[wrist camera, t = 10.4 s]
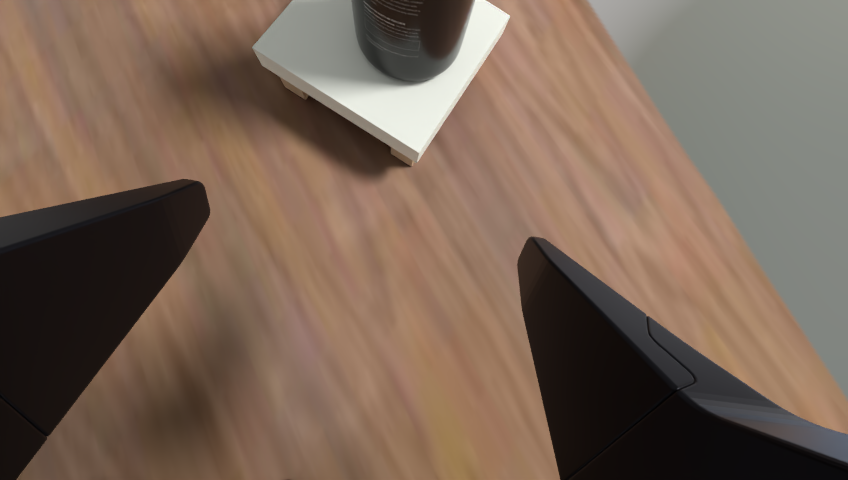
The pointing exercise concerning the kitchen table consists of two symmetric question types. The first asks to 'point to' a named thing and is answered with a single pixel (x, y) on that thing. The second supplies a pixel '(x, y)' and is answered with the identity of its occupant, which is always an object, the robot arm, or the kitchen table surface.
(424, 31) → the supplement bottle
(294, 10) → the white square riser
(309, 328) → the kitchen table surface
